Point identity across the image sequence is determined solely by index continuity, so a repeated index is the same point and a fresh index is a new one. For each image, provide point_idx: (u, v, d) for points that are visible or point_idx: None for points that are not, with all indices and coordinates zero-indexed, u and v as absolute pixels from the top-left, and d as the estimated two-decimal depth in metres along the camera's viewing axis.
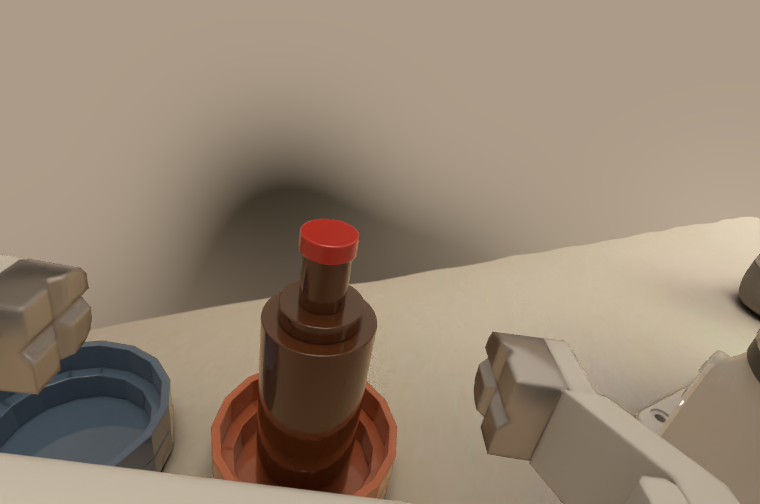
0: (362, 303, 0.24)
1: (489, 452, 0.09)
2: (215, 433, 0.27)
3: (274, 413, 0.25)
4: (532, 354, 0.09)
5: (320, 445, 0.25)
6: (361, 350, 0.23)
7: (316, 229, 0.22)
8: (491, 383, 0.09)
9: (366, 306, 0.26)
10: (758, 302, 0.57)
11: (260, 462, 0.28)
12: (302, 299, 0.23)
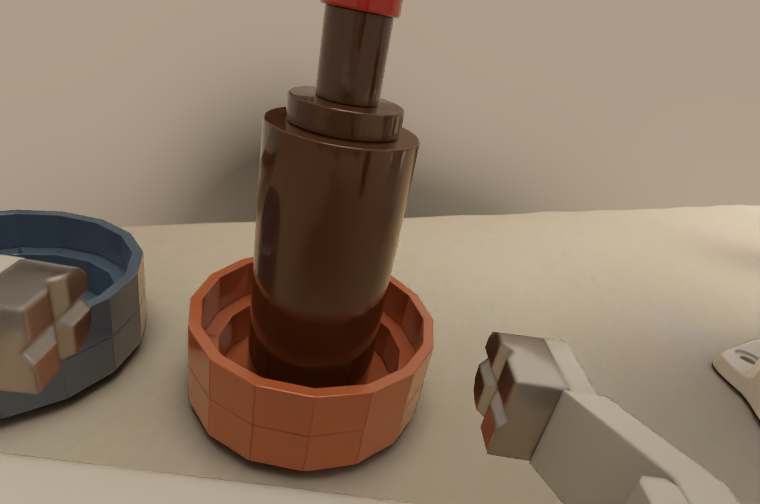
0: (401, 108, 0.18)
1: (489, 452, 0.09)
2: (195, 304, 0.21)
3: (275, 255, 0.18)
4: (532, 354, 0.09)
5: (336, 309, 0.18)
6: (400, 156, 0.17)
7: None
8: (491, 383, 0.09)
9: (403, 129, 0.19)
10: None
11: (253, 347, 0.21)
12: (321, 84, 0.17)
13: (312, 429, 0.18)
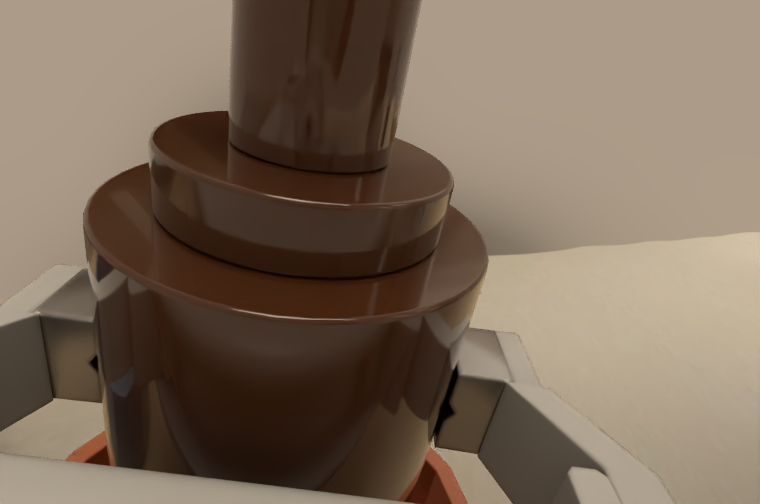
0: (444, 168, 0.07)
1: (437, 445, 0.09)
2: None
3: None
4: (480, 346, 0.09)
5: None
6: (451, 313, 0.06)
7: None
8: None
9: None
10: None
11: None
12: (235, 112, 0.06)
13: None
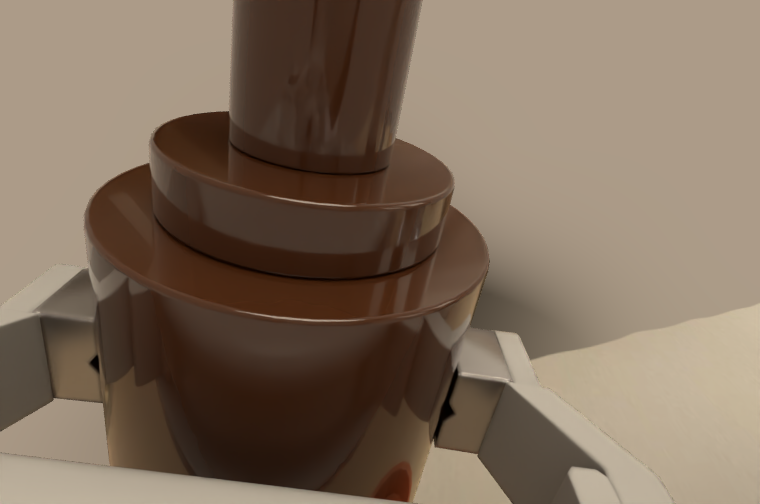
0: (445, 169, 0.07)
1: (437, 445, 0.09)
2: None
3: None
4: (480, 346, 0.09)
5: None
6: (453, 314, 0.06)
7: None
8: None
9: None
10: None
11: None
12: (236, 113, 0.06)
13: None
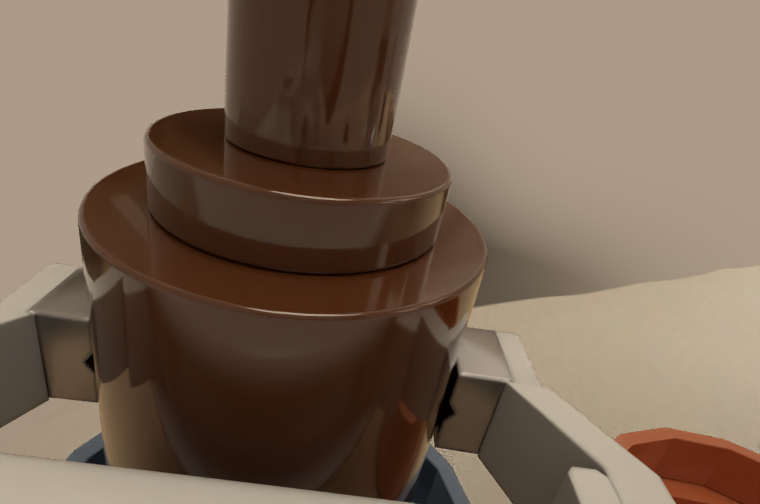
0: (442, 165, 0.07)
1: (437, 445, 0.09)
2: None
3: None
4: (480, 346, 0.09)
5: None
6: (450, 309, 0.06)
7: None
8: None
9: None
10: None
11: None
12: (231, 108, 0.06)
13: None
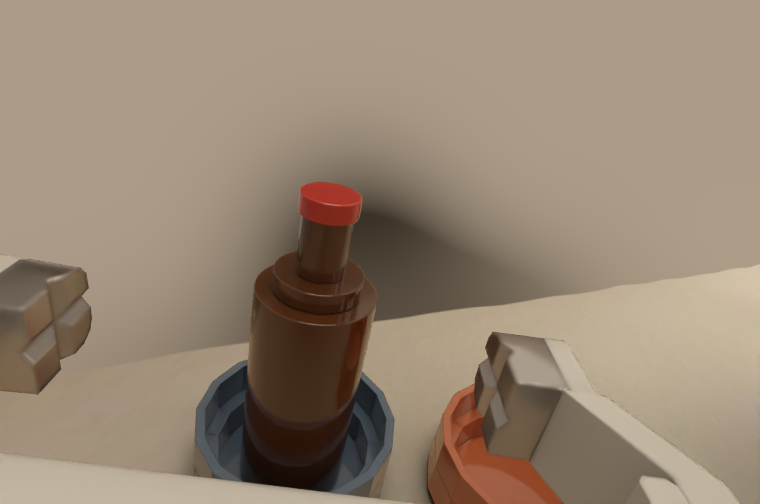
0: (362, 276, 0.23)
1: (489, 452, 0.09)
2: (451, 449, 0.27)
3: (262, 391, 0.23)
4: (532, 354, 0.09)
5: (311, 430, 0.23)
6: (359, 323, 0.22)
7: (317, 190, 0.21)
8: (491, 383, 0.09)
9: (366, 283, 0.24)
10: None
11: (245, 451, 0.26)
12: (299, 266, 0.22)
13: None
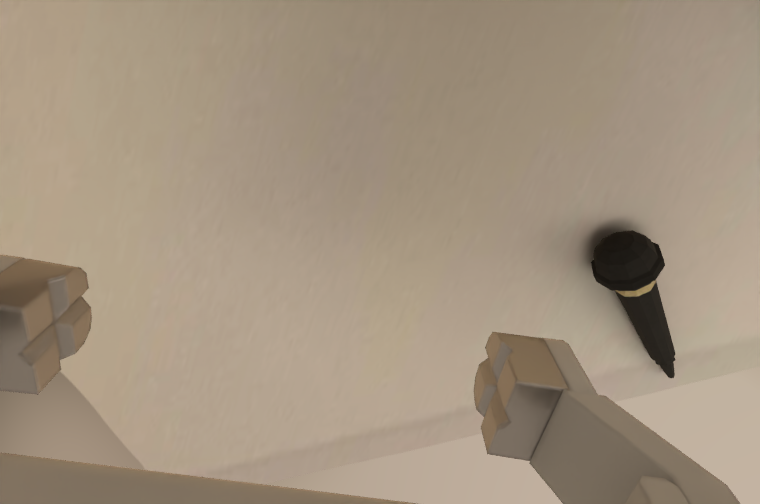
0: None
1: (489, 452, 0.09)
2: None
3: None
4: (532, 354, 0.09)
5: None
6: None
7: None
8: (491, 383, 0.09)
9: None
10: None
11: None
12: None
13: None
